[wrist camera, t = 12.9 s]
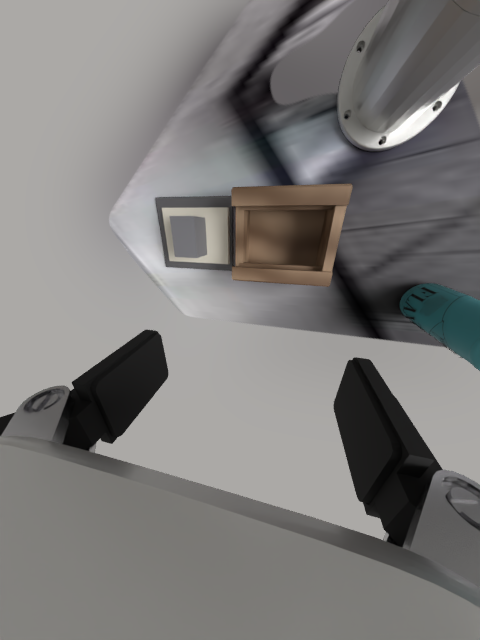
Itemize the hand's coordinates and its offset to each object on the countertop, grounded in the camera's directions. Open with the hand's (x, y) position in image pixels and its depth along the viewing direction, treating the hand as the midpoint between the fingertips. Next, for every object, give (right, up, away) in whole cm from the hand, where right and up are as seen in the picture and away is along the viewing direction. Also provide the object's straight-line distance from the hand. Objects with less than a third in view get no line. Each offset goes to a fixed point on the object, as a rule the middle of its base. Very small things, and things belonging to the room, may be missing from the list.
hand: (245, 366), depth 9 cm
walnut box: (+7, +16, +22) cm, 29 cm away
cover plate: (-8, +18, +25) cm, 32 cm away
